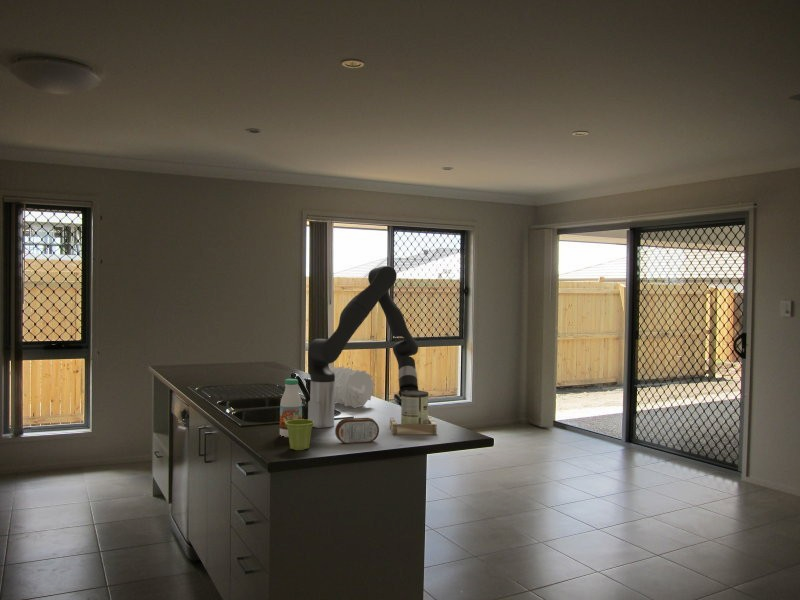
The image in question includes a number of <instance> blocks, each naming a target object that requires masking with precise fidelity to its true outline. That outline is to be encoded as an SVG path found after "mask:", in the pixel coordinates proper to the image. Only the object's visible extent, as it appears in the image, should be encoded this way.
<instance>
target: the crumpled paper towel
mask: <svg viewBox="0 0 800 600" xmlns="http://www.w3.org/2000/svg"><path fill="white" fill-rule="evenodd" d="M330 370H331V371H332V372H333V373H334V374H335V396H334V403H338V404H340V405H344V407H345V406H346V407H348V406H350V407H352V408H353V409H356V408H357V407H362V408H363V407H364V406H365V405H366V403H367V402H368V401H371V399H372V396H374V386H375V383H374V381H373V379H372V377H373V375H371V374H369V373H367V370H360V369H356V370H355V369H353V368H350V367H349V366H348V367H344V366H339V367H337V366H336V365H335V366H333V368H331V369H330Z"/></svg>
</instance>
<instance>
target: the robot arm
mask: <svg viewBox="0 0 800 600" xmlns="http://www.w3.org/2000/svg"><path fill="white" fill-rule="evenodd" d="M367 277H368V279H367V280H368V283H369V285H368V286H367V287H366V288H364V289H363V290H361V291H360V292H359V293H357V295H355V296H354V297H353V298H352V299H351V300H350V301H349V302H348V303H347V304H346V305H345V307H344V308H343V309H342V311H341V313H340V314H339V315H340V316H339V321H338V326H337V328H336V330H334V332H333V333H332V334H331V335H330V336H329V337H328V338H326V339H325V338H316V339H313V340H312V341H310V342H311V343H310V344H309V347H308V351H307V352H308V353H307V355H308V356H307V358H308V359H307V360H308V361H307V362H308V363H307V364H308V365H307V367H308V374H309V376H310V388H309V389H310V390H309V391H310V399H309V400H308V402H307V404H308V405H307V420H312V421H314V424H313V427H312V428H317V429H321V428H331V427H335V402H334V396H335V374H334V373H333V372H332V371H331V370H332V369H330V368H329V364H333V363H335V361H337V360H338V359H339V357H340V355H341V354H342V352H343V351H344V349H345V347H346V345H347V344H348V343H349V341H350V339H351V338H352V337H353V335H354V334H355V333H356V332H357V330H358V329H359V327H361V325H362V324H363V323H364V321H365V320H366V319H367V317H368V316H369V314H370V313H371V311H373V309H374V308H375V306H376V305H377V304H378V303H379V305H380V307H381V309H382V311H383V314H384V316H385V318H386V321H387V322H386V323H387V325H388V328H389V330H390V333H391V336H393V337H394V338H398V337H399V338H403V339H404V340H400V341H399V342H398V341H397V342H395V343H394V344H393V346H392V352H393V354H394V356H395V359H396V362H397V367H398V374H397V375H398V379H397V380H398V388H399V389H398V393H397V394H396V393H395V394H394V395H393V401H394V402H395V403H396V404H397V405H398V406H400V407H401V400H402V395H401V392H403V391H420V390H419V386H418V385H419V384H418V374H417V370H416V368H417V367H416V361H415V359H414V358H413V357H412V356H415V355H417V354H418V352H419V345H418V343H417V341H416V340H415V338H414V337H413V336H412V334H411V332H410V331H409V329H408V326H407V323H406V321H405V318H404V315H403V313H402V311H401V310H400V308H399V307H398V305H397V304H396V303H395V302H394V301H393V298H391V295H390V293H389V290H390V289H391V288H392V287H393V286H394V285H395V283H396V281H397V272H396V269H395V268H394V267H393V266H392V265H381V266H379V267H378V266H377V267H375V268H372V269H371V270H370V271H369V273H368V275H367Z"/></svg>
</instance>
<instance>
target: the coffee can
mask: <svg viewBox="0 0 800 600" xmlns="http://www.w3.org/2000/svg"><path fill="white" fill-rule="evenodd" d="M401 395H402V398H401V399H402V400H401V406H400V408H401V415H400V417H401V418H400V424H428V418H429V392H428V391H424V390H419V391H403V392H401Z"/></svg>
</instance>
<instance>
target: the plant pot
mask: <svg viewBox="0 0 800 600" xmlns="http://www.w3.org/2000/svg"><path fill="white" fill-rule="evenodd" d="M285 424H286V425H287V429H288V435H289V437H288V442H289V449H290V450H295V451H303V450H306V449H307V450H308V449H309V448H310V445H311V444H310V442H311V435H312V428H314V427H313V424H314V421H312V420H308V419H304V418H302V419H297V420H289V421H286V422H285Z"/></svg>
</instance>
